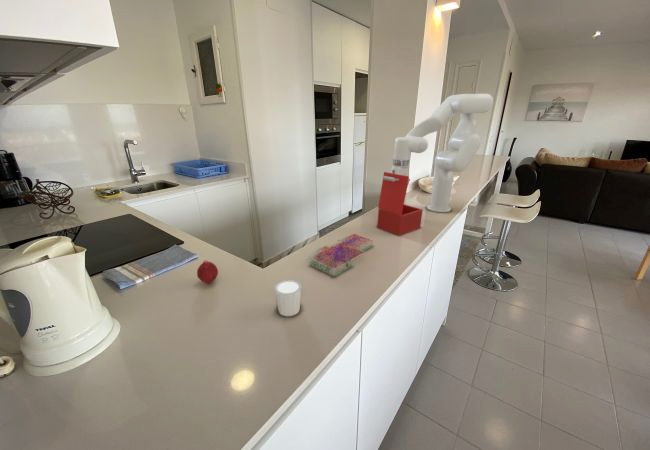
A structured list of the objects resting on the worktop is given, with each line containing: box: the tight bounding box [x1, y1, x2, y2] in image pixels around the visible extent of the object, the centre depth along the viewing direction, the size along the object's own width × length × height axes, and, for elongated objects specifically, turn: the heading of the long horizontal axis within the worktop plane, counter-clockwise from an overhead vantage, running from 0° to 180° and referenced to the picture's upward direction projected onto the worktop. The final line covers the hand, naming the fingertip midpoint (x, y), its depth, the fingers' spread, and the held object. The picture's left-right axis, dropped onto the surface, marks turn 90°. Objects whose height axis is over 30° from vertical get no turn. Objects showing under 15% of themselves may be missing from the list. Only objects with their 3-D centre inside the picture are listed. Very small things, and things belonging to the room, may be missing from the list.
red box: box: [376, 203, 423, 236], centre depth 127 cm, size 16×13×9 cm
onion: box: [196, 259, 219, 284], centre depth 84 cm, size 6×6×8 cm
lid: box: [377, 171, 410, 216], centre depth 117 cm, size 16×13×5 cm
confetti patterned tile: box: [305, 232, 373, 277], centre depth 102 cm, size 30×15×5 cm, turn 137°
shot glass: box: [274, 279, 302, 317], centre depth 72 cm, size 7×7×7 cm
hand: (396, 196), depth 143 cm, fingers open, 9 cm apart
